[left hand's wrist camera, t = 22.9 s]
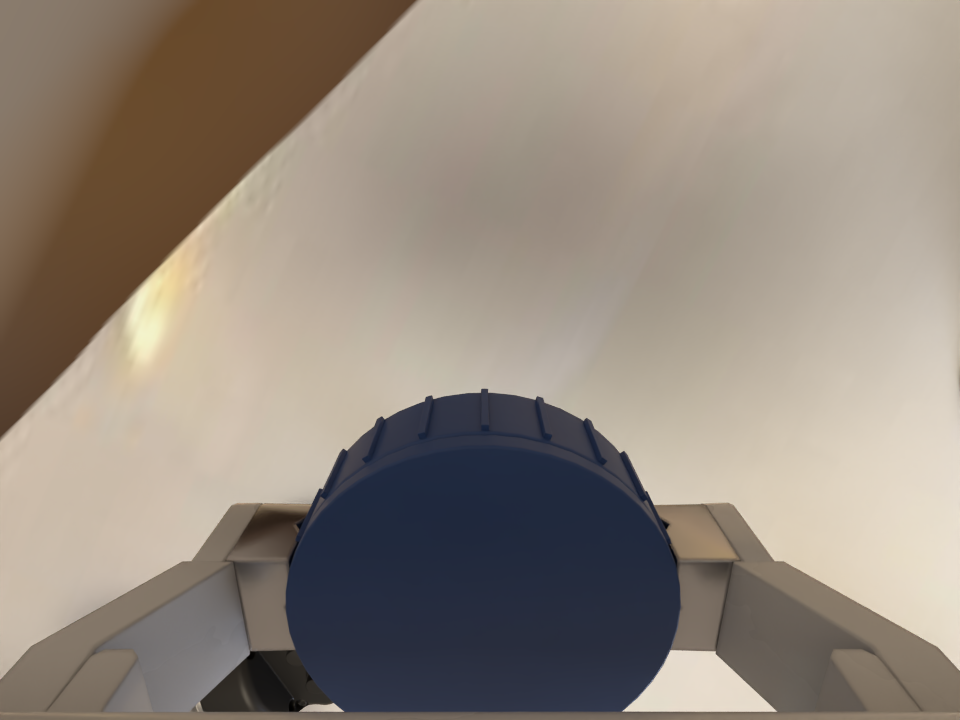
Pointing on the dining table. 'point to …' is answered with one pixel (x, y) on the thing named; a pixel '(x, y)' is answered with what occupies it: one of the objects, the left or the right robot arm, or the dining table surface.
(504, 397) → the lid
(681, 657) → the dining table surface
